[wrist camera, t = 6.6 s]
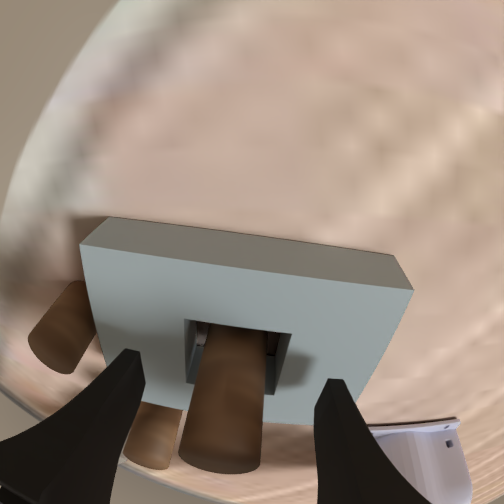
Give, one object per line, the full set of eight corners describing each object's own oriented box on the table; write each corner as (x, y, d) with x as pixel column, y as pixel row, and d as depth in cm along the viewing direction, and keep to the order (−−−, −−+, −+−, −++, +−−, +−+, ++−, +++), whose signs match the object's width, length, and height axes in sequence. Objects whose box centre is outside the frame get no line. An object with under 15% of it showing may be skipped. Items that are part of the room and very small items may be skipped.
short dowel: (104, 285, 14) (65, 340, 11) (111, 325, 15) (81, 380, 12) (62, 276, 14) (20, 325, 11) (72, 315, 15) (38, 364, 12)
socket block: (393, 255, 12) (414, 290, 10) (335, 390, 17) (340, 425, 14) (108, 216, 12) (79, 244, 10) (130, 361, 17) (115, 393, 14)
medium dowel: (185, 384, 17) (166, 457, 13) (186, 407, 19) (170, 473, 14) (143, 376, 17) (118, 444, 13) (148, 399, 19) (127, 462, 14)
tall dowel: (272, 304, 14) (267, 450, 8) (262, 345, 15) (253, 477, 9) (214, 294, 14) (176, 436, 8) (209, 336, 15) (179, 466, 9)
